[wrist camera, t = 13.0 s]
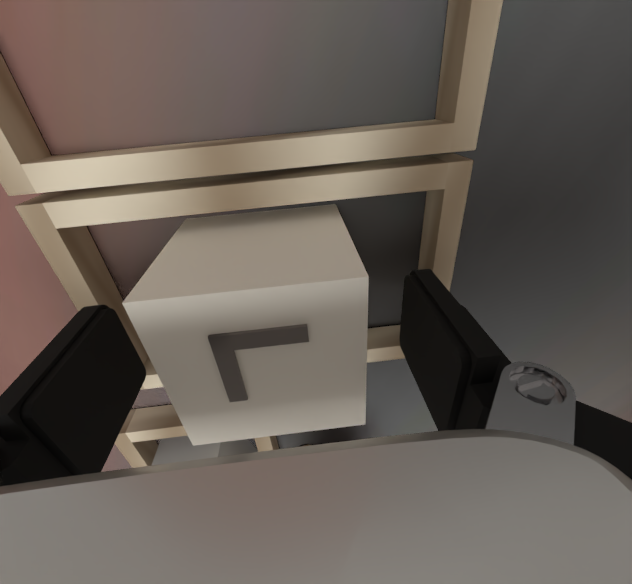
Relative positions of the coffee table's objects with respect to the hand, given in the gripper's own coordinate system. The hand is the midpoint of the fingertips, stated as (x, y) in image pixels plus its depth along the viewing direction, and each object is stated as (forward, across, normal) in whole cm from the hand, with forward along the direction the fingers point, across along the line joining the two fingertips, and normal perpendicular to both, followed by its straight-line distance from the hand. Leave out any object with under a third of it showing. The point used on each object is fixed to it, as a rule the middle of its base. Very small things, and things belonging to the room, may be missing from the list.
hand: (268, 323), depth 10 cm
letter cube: (+3, 0, 0) cm, 3 cm away
